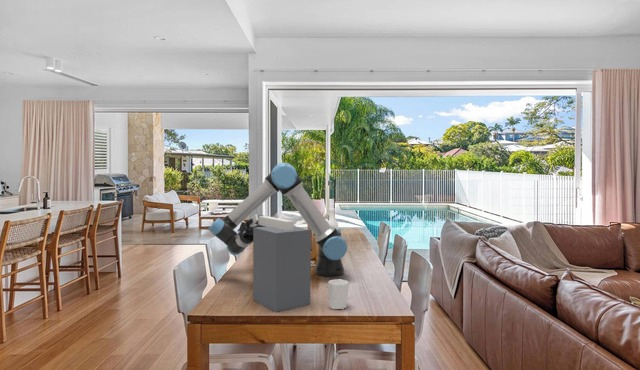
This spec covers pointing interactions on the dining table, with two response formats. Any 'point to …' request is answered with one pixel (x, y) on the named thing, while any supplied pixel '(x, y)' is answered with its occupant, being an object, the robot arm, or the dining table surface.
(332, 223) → the bottle
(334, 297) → the white cup
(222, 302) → the dining table surface
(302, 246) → the pedestal
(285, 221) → the marker rod
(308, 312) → the dining table surface
